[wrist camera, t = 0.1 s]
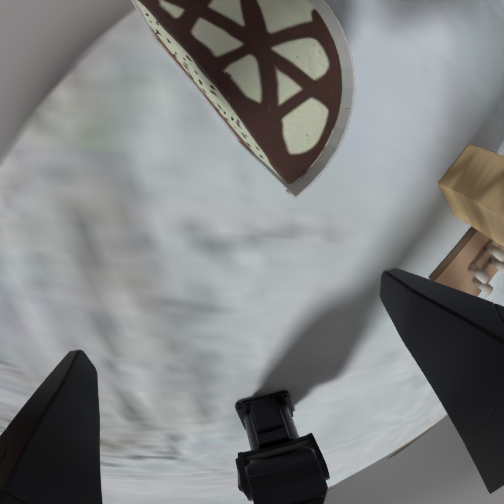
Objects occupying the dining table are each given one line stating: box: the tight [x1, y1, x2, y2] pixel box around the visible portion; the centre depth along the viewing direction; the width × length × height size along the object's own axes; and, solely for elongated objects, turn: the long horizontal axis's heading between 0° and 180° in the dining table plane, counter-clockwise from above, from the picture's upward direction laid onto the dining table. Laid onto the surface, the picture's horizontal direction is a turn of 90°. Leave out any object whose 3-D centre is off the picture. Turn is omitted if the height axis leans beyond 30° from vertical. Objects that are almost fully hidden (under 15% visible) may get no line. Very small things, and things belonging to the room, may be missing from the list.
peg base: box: [429, 227, 504, 296], centre depth 29 cm, size 14×11×4 cm
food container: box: [131, 0, 355, 198], centre depth 13 cm, size 12×6×10 cm, turn 36°
